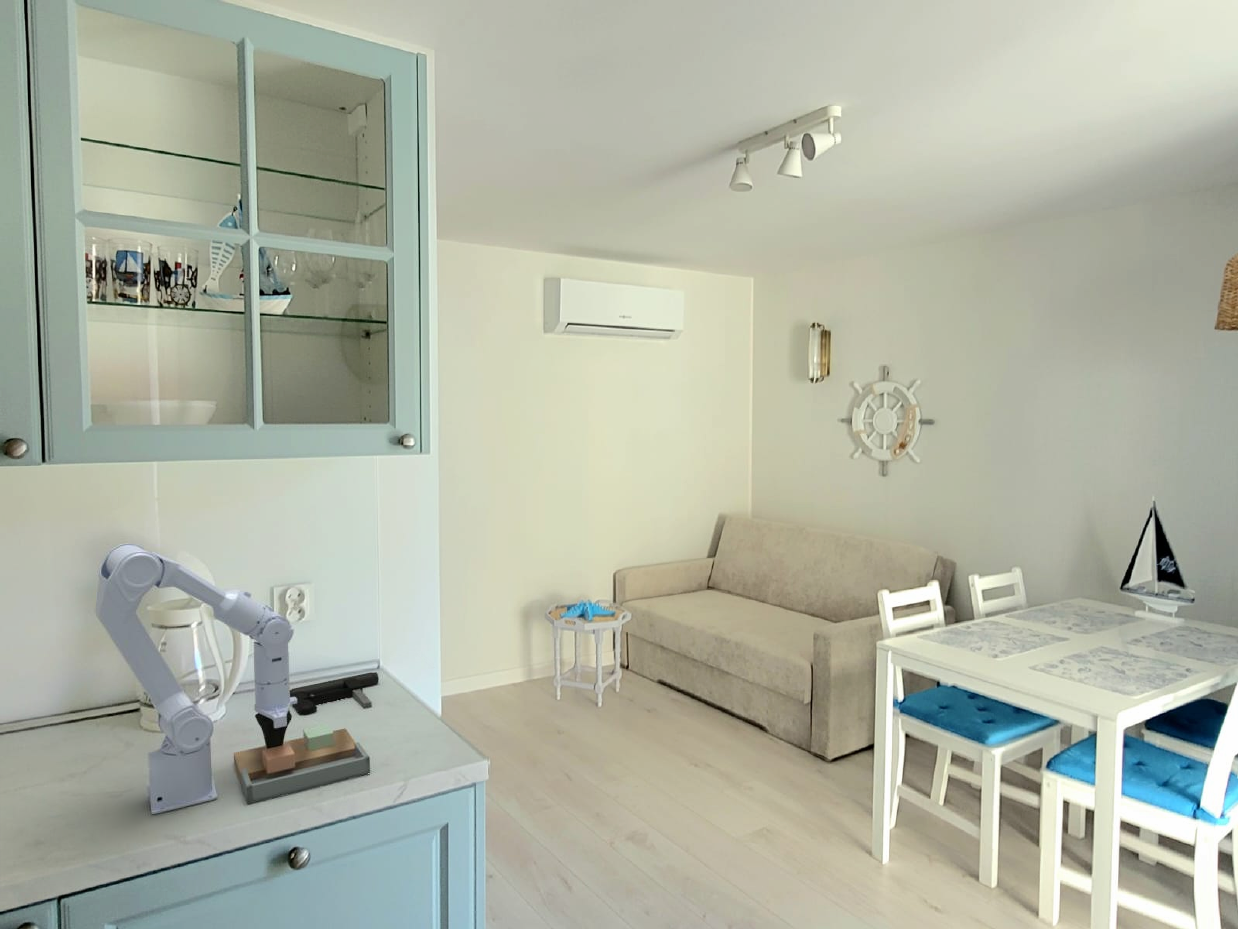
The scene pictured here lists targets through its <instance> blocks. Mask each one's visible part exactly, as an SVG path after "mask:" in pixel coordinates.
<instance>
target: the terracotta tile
mask: <svg viewBox="0 0 1238 929" xmlns="http://www.w3.org/2000/svg"><path fill="white" fill-rule="evenodd" d="M262 753H263V765H264V767H265V769H266V771H267V774H269V773H273V772H277V771H281V770H285V769H289V768H293V767H295V753H294V751H293V750H292V748H291V746H290V744H286V745H282V746H278V747H273V748H269V749H265V750H262Z"/></svg>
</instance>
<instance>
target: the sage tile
mask: <svg viewBox="0 0 1238 929" xmlns="http://www.w3.org/2000/svg"><path fill="white" fill-rule="evenodd" d="M333 731H334V730H332V728H331V727H330V725H329V724H324V725H319V726H315V727H310V728H304V729H303V731H302V732H303V733H302V734H303V735H302V736H303V737H302V738H304V744H305V746H306V748H307V749H308V751H313V750H317V749H322V748H326V747H330V746H334V733H333Z"/></svg>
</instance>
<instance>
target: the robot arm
mask: <svg viewBox="0 0 1238 929" xmlns="http://www.w3.org/2000/svg"><path fill="white" fill-rule="evenodd" d="M154 586H155V587H157V588H158V589H165V588H172V587H173V588H176V589H178V590H180V591H182V592H183V593H186V594H187V595H189V596H191V597H193V598H195V599H197V600H199V601H201V602H203V603H205V604H207V605H208V606H210V607H211V608H212V611H213V616H214V618H215V620H218V621H219V622H221V623H223V624H224V625H226V626H229V627H231V628H232V629H234V630H235V631H237V632H239V633H241V634H243V635H244V636H248V637H249V638H250V639H251V640H253V670H254V671H253V672H254V698H255V700H254V701H255V703H254V706H253V708H254V711H255V712H256V714H255V715H254V717H255V719H256V721H257V723H258V725H259V727H260V728H261V731H262V734H263V739H264V743H265V744H264V745H265V746H266V748H267V749H269V748H273V747H278V746H282V745H283V742H285V741H284V740H285V737H286V736H285V735H286V732H287V729H288V726H289V725H290V723H291V721H292V718H293V715H292V713H291V710H290V709H291V707H292V705H293V704H296V703H297V698H296V697H290V690H291V688H290V687H291V685H290V683H291V682H290V654H289V643H290V642H291V640H292V639H293V636H294V629H293V628H292V625H291V624H290V621H289V620H288V619H287V618H286V617H284V616H282V615H281V614H279V613H277V612H275V611H274V608H273V607H272V606H270V605H269V604H266V605H264V604H262V603H261V602H259V601H257V600H255V599H254V598H252V597H251V596H252V593H251V592H250V591H247V590H246V589H241V590H239V589H229V590H225V591H224V590H222V589H221V588H220V587H217V586H216V585H214V584H213V583H211V582H210V581H208V580H207V579H204V578H203V577H202V576H200V575H198V574H197V573H195V572H194V571H192V570H190V569H189V568H187V567H186V566H184V565H182V564H181V563H179V562H178V561H175V560H173V559H171V558H168V557H166V556H163V555H162V554H159V553H156V552H154V551H151V550H149V551H147V550H146V549H145V548H144V547H142V546H141V545H139V544H136V543H132V542H131V543H127V542H126V543H122V544H118V545H116V546H115V547H113V548H112V549H110V551H108V553H107V555H106V556H105V558H104V559H103V562H102V563H101V564H100V566H99V568H98V587H97V595H96V602H95V611H94V612H95V615H96V618H97V619H98V621H99V622H100V624H101V625H102V627H103V628H104V630H105V631H106V633H107V634H108V635H109V636H108V637H110V639H111V641H112V642H113V644H114V645H115V647H116V648H117V650H118V651H119V653H120V655H121V656H122V658H123V660H124V661H125V662H126V664H127V665H128V667H129V668H130V670H131V672H132V673H133V675H134V676H135V678H136V680H137V681H138V683H139V684H140V686H141V687H142V689H143V690H144V692H145V694H146V695H147V697H148V698H149V700H150V702H151V703H152V706H153V708H154V709H155V711H156V713H157V725H158V728H159V729H160V731H161V732H163V733H164V734H165V737H164V739H163V740H162V744H161V747H160V748H158V749H156V750H154V751H149V752H148V753H147V765H148V766H147V768H148V784H149V785H148V786H146V789H147V798H148V799H149V801H150V813H151V814H152V815H156V814H160V813H164V812H168V811H172V810H177V809H180V808H185V807H190V806H194V805H196V804H197V805H198V804H202V803H206V802H210V801H214V800H216V799H217V798H218V793H217V789H216V785H215V782H214V778H213V773H212V772H213V771H212V749H211V748H212V745H211V744H212V743H211V738H212V736H213V734H214V723H213V720H212V718H211V717H210V716H209V715H207V714H205V713H204V712H203V711H202V710H201V709H200V708H199V707H198V705H197V703H195V701H194V700H192V699H191V698H190V697H189V695H187V693H186V692H185V691H184V689H183V687H182V686H181V684H180V682H179V680H177V677H176V676H175V675H174V673H173V671H172V669H171V668H170V666H169V664H168V663H167V662H166V660H165V658H164V657H163V655H162V653H161V652H160V650H159V649H158V647H157V645H156V643H155V642H154V640H153V638H152V637H151V636H150V635H149V633H148V631H147V630H146V628H145V626H144V624H143V622H142V621H141V620H140V618H139V617H138V615H137V610H138V608H139V607H140V604H141V602H142V600H143V597H144V596H146V595H147V593H149V592H150V590H151V589H153V587H154ZM293 706H294V705H293Z"/></svg>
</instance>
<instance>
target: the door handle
mask: <svg viewBox="0 0 1238 929" xmlns="http://www.w3.org/2000/svg"><path fill="white" fill-rule="evenodd" d="M379 680H380V679H379V674H378V672H377V671H375V672H366V673H361V674H356V675H352V676H346V677H342V678H337V679H333V680H328V681H323V682H318V683H314V684H309V685H308V684H307V685H304V686H299V687H296V688H295V687H294V688H292V689H291V688H290V697H296V698H297V703H296V704H293V706H294V708H295V709H296V711H297V712H298V714H299V715H300V716H309V715H312V713H313V714H315V713H316V712H317V710H318V707H317V706H319V704H321V705H324V704H323V703H326V704H328V703H327V702H330V703H334V701H335V702H338V701H337V700H339V701H342V700H341V699H344V700H346V699H345V698H348V699H354V701H356V702H357V703H358V704H359V705H360V707H362V708H363V709H364V710H365V709H369V708H372V705H373V704H372V703H373V701H371V700H370V698H369V697H368V696H367V695H366V694H365V693H364V692H363V691H364V690H363V688H365V687H371V686H375V684H378V683H379ZM316 705H317V706H316ZM314 712H315V713H314Z"/></svg>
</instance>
